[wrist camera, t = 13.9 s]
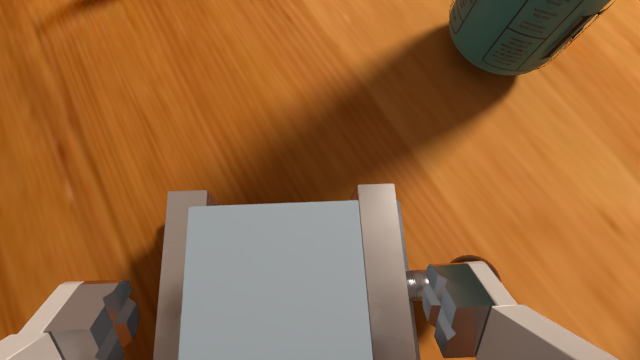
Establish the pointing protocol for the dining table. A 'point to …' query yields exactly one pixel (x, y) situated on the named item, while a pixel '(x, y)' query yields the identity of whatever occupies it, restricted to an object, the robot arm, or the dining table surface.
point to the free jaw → (390, 274)
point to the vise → (175, 265)
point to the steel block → (275, 283)
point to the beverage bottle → (517, 31)
